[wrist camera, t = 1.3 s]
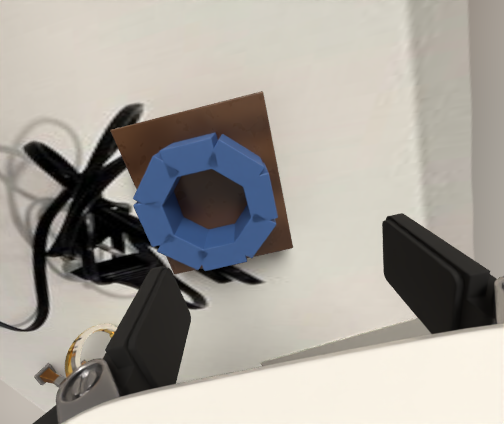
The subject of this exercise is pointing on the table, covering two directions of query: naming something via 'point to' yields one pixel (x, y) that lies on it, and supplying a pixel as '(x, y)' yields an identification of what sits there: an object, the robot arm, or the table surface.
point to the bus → (360, 341)
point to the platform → (209, 181)
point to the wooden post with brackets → (50, 376)
